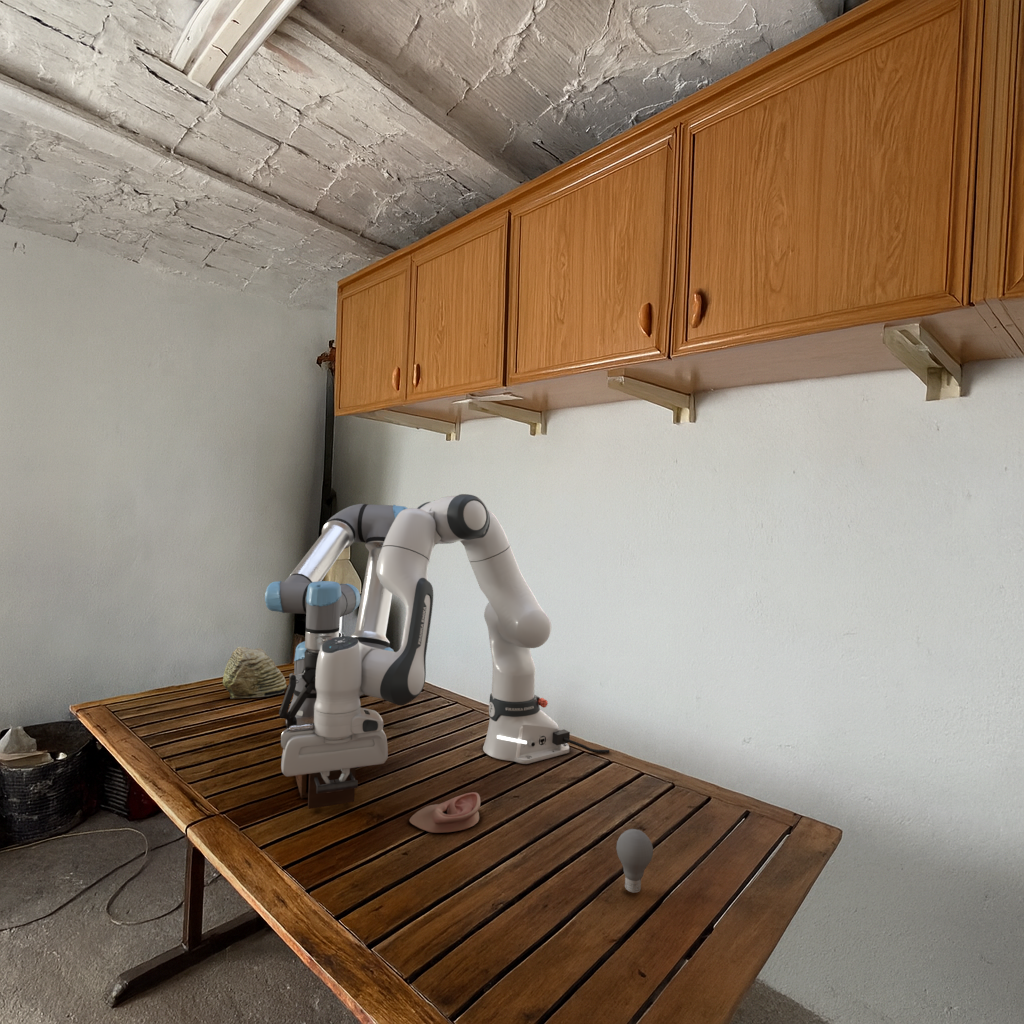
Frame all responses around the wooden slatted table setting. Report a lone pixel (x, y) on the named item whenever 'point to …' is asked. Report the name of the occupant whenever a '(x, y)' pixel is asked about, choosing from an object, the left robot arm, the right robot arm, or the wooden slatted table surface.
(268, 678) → the fossil
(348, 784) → the drawer
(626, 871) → the light bulb
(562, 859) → the wooden slatted table surface
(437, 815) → the anatomical model
